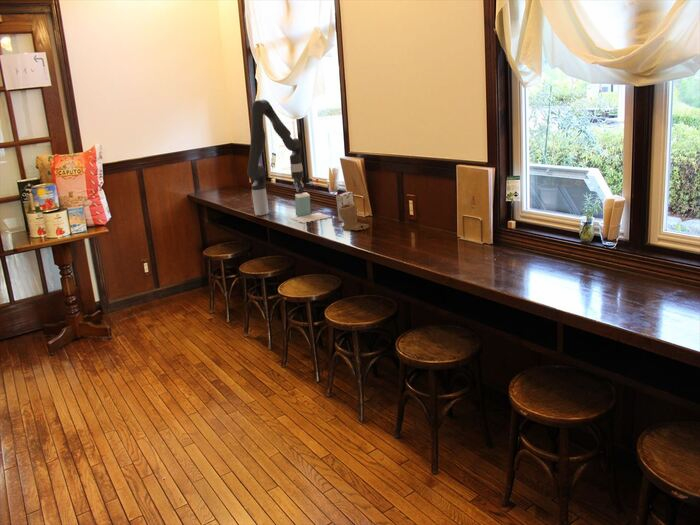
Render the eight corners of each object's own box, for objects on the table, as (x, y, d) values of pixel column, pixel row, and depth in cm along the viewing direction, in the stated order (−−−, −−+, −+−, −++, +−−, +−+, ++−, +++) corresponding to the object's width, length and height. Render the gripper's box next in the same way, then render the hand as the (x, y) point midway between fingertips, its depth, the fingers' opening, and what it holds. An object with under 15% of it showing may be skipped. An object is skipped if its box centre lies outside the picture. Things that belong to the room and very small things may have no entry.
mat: (291, 219, 394) (291, 218, 394) (318, 213, 404) (318, 212, 403) (303, 223, 380) (302, 222, 380) (331, 217, 389) (331, 216, 389)
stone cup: (336, 230, 356) (333, 205, 351) (350, 226, 364) (348, 200, 359) (355, 233, 345) (353, 207, 341) (369, 228, 353) (367, 203, 349)
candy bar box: (349, 217, 385) (346, 191, 380) (355, 218, 382) (353, 191, 377) (338, 221, 376) (335, 195, 372) (344, 222, 373) (342, 195, 369)
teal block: (295, 215, 401) (295, 194, 395) (306, 212, 405) (306, 192, 399) (299, 217, 397) (298, 196, 391) (310, 215, 401) (309, 194, 395)
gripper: (287, 170, 399) (290, 197, 404) (296, 172, 388) (299, 199, 393) (297, 168, 402) (300, 195, 407) (306, 170, 391) (309, 197, 396)
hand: (299, 197), depth 400 cm, fingers closed
